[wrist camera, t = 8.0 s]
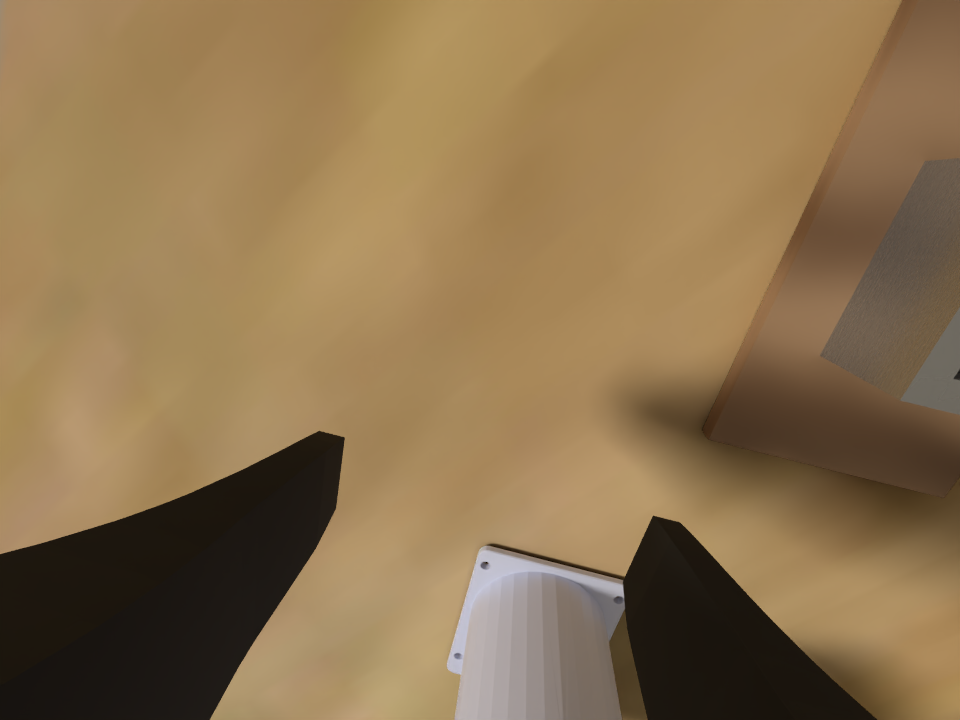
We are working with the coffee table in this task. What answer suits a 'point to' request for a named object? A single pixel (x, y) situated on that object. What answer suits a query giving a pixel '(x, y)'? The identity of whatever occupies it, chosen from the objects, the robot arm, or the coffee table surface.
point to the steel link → (910, 299)
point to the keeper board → (853, 280)
